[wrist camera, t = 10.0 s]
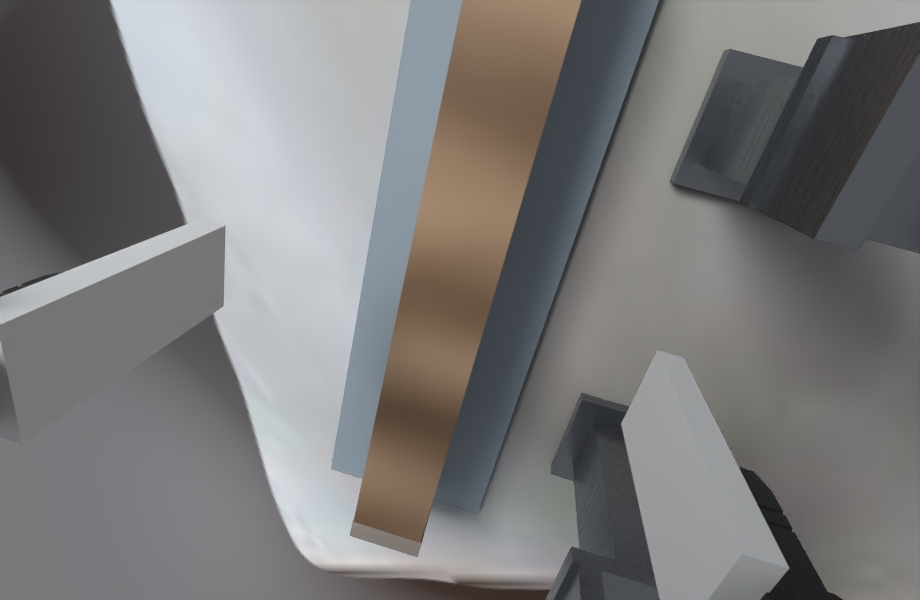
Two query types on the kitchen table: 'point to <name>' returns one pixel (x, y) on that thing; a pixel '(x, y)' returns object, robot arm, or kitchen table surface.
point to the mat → (532, 242)
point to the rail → (458, 250)
